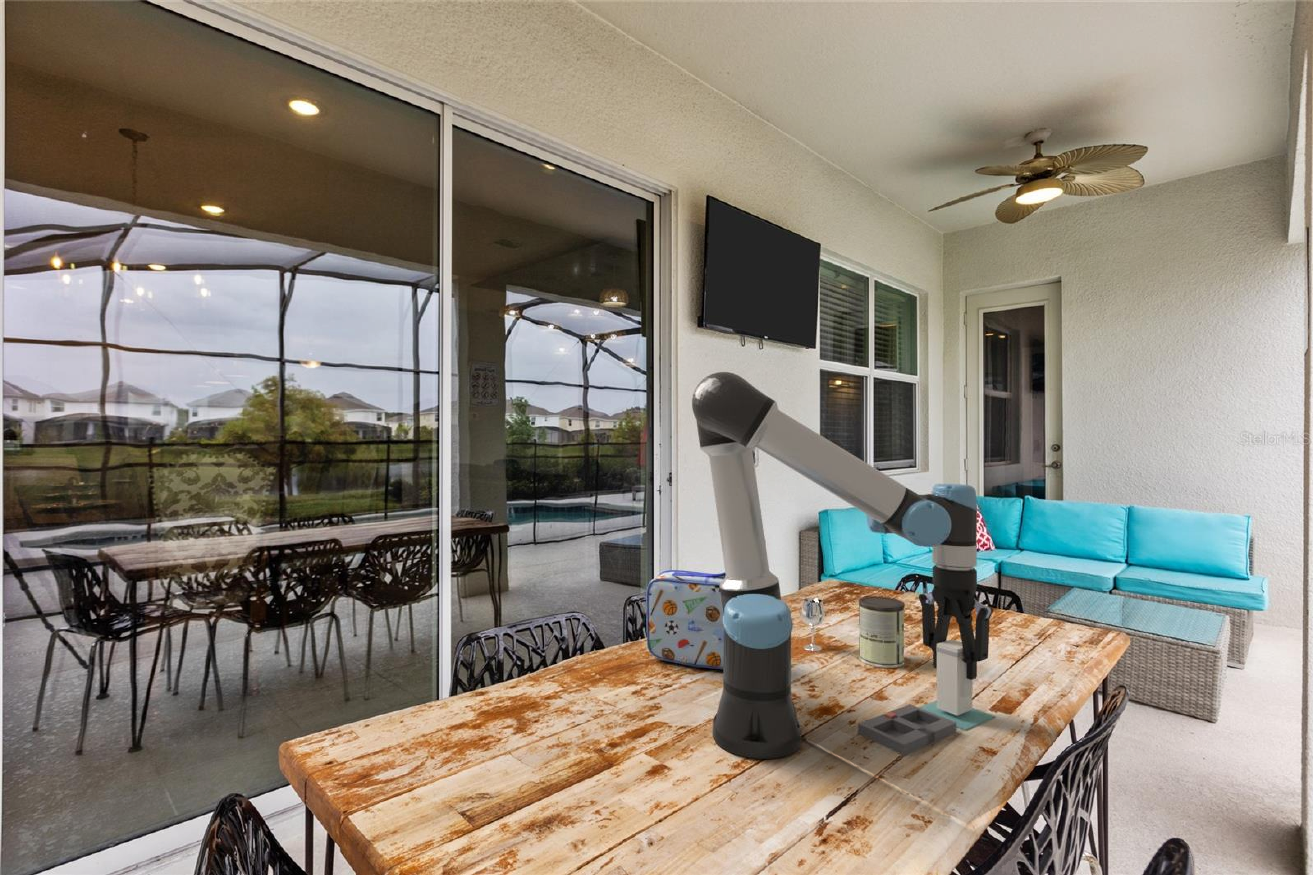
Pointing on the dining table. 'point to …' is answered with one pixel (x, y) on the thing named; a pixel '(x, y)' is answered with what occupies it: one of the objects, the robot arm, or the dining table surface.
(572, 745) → the dining table surface
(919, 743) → the power strip
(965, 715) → the pad
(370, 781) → the dining table surface
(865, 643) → the coffee can
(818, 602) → the wineglass
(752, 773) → the dining table surface
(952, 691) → the block
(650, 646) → the lunch box
